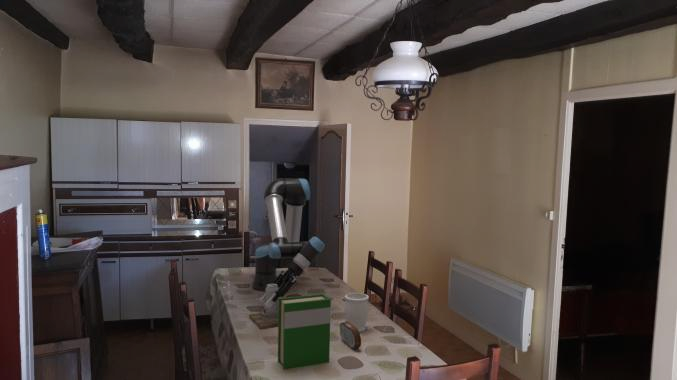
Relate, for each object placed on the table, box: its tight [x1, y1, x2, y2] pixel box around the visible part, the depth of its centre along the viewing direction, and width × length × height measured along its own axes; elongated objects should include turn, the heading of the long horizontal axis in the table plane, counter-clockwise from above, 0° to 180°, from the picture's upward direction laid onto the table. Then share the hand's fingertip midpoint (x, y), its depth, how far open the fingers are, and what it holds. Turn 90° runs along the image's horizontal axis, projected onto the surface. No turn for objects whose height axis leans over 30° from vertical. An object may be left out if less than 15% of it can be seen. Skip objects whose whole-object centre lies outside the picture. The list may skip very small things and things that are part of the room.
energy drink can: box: [264, 284, 280, 314], centre depth 228 cm, size 6×6×15 cm
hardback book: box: [277, 293, 332, 371], centre depth 185 cm, size 18×7×24 cm, turn 114°
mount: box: [248, 308, 278, 330], centre depth 229 cm, size 16×16×4 cm
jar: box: [344, 292, 370, 333], centre depth 221 cm, size 11×10×15 cm
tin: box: [339, 320, 362, 350], centre depth 203 cm, size 15×3×8 cm, turn 25°
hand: (264, 304), depth 227 cm, fingers open, 6 cm apart
